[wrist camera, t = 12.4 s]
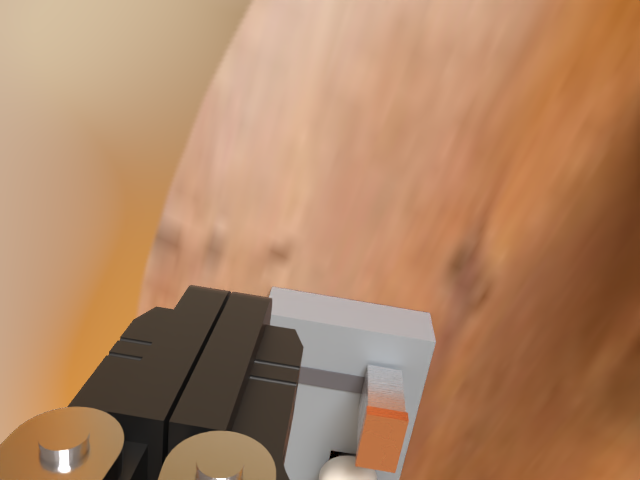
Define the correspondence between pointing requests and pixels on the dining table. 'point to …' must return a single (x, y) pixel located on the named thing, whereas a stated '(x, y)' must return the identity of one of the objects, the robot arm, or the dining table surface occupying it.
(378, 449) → the slider
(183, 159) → the dining table surface
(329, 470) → the button ivory
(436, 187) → the dining table surface
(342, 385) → the console
